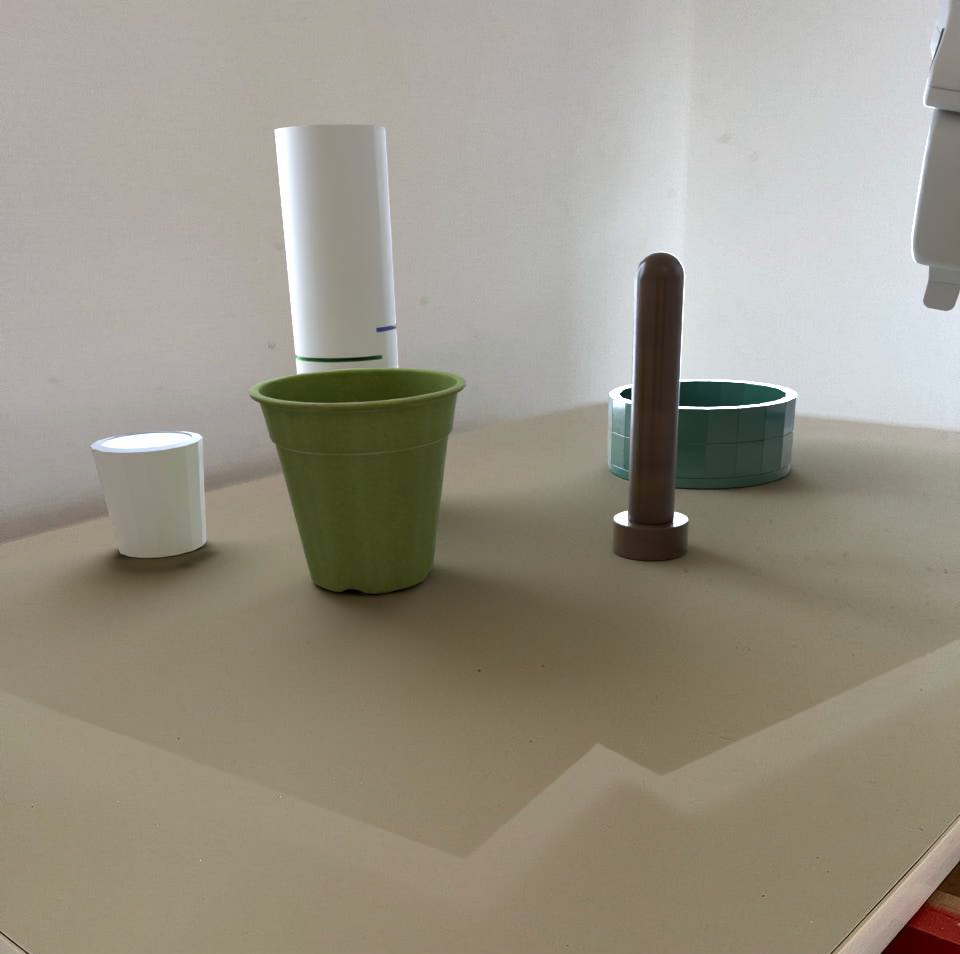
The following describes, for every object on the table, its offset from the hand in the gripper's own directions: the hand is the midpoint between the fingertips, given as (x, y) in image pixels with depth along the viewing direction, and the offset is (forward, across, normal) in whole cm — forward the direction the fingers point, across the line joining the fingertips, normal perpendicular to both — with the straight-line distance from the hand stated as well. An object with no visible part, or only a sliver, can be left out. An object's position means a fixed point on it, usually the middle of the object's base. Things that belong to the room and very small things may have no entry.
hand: (955, 264), depth 64 cm
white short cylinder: (+11, +33, -41) cm, 53 cm away
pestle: (+10, +21, -12) cm, 26 cm away
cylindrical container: (+15, +20, -34) cm, 43 cm away
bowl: (+21, 0, -15) cm, 26 cm away
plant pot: (+8, +32, -25) cm, 41 cm away
